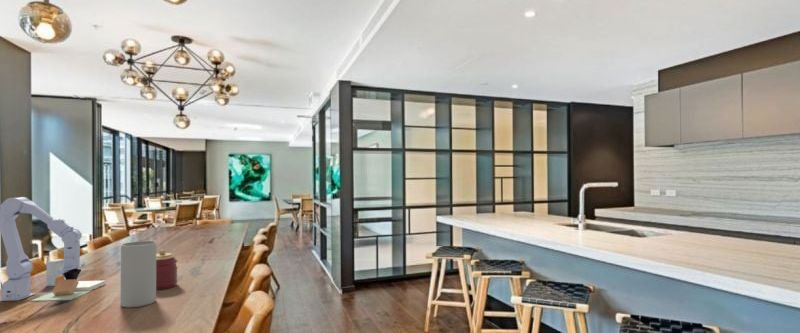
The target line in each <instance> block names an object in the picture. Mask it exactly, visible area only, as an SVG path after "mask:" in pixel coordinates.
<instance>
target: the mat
mask: <svg viewBox="0 0 800 333" xmlns="http://www.w3.org/2000/svg"><path fill="white" fill-rule="evenodd" d="M91 292H92V290H91V291H74V293H73V294H72V295H54V294H53V293H52V292H49V293H47V294H44V295H42V296H41V295H40V297H37V298H34V299H31V300H30V302H48V301H49V302H53V301H56V302H57V301H72V300H74V299H77V298H79V297H81V296H84V295H87V294H88V293H91Z"/></svg>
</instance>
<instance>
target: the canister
mask: <svg viewBox="0 0 800 333" xmlns="http://www.w3.org/2000/svg"><path fill="white" fill-rule="evenodd" d="M176 257H177V256H176V255H175V254H173V253H171V252H166V250H165V249H161V250H159V252H158V253H156V291H160V290H168V289H171V288H174V287H177V285H178V268H179V267H178V266H177V263H178V259H177V258H176Z"/></svg>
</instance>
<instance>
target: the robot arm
mask: <svg viewBox="0 0 800 333" xmlns="http://www.w3.org/2000/svg"><path fill="white" fill-rule="evenodd" d="M21 214H29V215H32V216H33V217H35V218H36V219H39V220H40V221H41V222H43V223H44V224H46V225H47V229H48V230H49V231H50V232H52V233H54V234H55V235H56V236H58V237H60V238H61V241H62V243H63V259H64V267H62V268H61V269H58V274H63V275H64V280H70V279H76V280H77V279H78V277H79V275H80V273H81V272H82V269H81V268H84V267H85V266H86V265H85V264H86V263H85V262H81V261H80V258H81V252H80V251H81V245H80V244H81V242H80V240H81V238H82V236H83V234H82V232H81V231H80V230H79V229H77V228H75V227H74V226H70V225H69V224H68V223H66V220H64V219H60V218H54V217H53V216H52V215H50V214H49V213H48V212H46V211H45V210H44V209H43V208H41V207H40V206H39V205H38V204H36V202H34V201H32V200H30V199H29V198H28V197H26V196H19V197H9V198H6V199H5V200H4V201H3V202H2V203H1V204H0V234H1V238H2V241H3V245H4V247H5V252H6V255H7V260H6V262H5V265H6V268H5V275H6V276H7V278H8V279H7V280H6V281H4V282H3V283H2V284H1V287H0V288H1V291H0V292H1V298H0V302H3V301H4V302H5V301H6V302H7V301H8V302H9V301H21V300H24V299H26V298H30V297H31V296H35V295H36V293H37V292H31V291H32V290H31V285H32V279H31V278H32V275H31V272H32V271H33V269H34V264H33V262H32V260H30V258H29V256H28V255H27V254H26V253H25V251H24V248H23V244H22V241H21V237H20V234H19V230H18V228H17V223H16V219H17V218H18V217H19V216H20V215H21ZM85 268H86V267H85ZM77 281H78V280H77Z"/></svg>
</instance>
